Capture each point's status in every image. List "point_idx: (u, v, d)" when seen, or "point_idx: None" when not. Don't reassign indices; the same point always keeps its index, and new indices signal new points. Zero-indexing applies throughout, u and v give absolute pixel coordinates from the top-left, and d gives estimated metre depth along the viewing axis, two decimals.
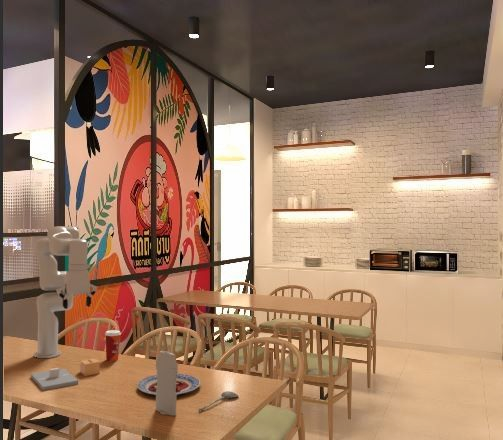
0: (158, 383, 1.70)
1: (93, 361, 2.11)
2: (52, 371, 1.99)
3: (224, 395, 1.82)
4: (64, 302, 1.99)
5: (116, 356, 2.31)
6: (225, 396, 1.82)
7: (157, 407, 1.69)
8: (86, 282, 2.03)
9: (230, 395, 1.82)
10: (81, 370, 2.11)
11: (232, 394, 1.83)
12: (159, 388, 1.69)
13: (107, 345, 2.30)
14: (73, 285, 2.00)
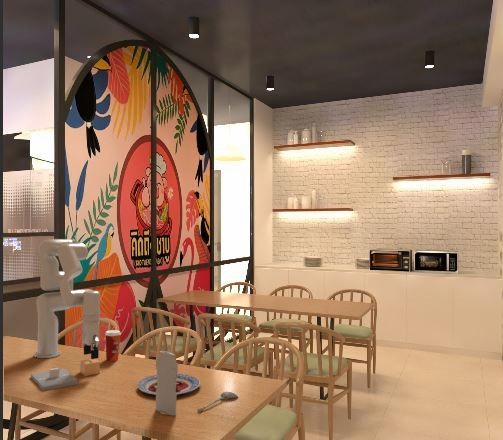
0: (158, 383, 1.70)
1: (93, 361, 2.11)
2: (52, 371, 1.99)
3: (223, 395, 1.82)
4: (97, 352, 2.08)
5: (116, 356, 2.31)
6: (224, 396, 1.81)
7: (157, 407, 1.69)
8: None
9: (229, 396, 1.82)
10: (81, 370, 2.11)
11: (231, 395, 1.82)
12: (159, 388, 1.69)
13: (107, 345, 2.30)
14: None
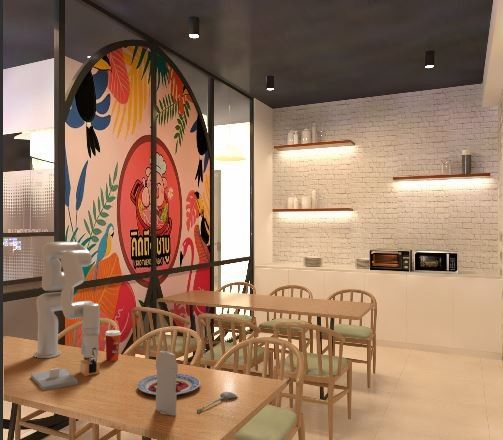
0: (158, 383, 1.70)
1: None
2: (52, 371, 1.99)
3: (223, 396, 1.81)
4: (95, 366, 2.09)
5: (116, 356, 2.31)
6: (224, 397, 1.81)
7: (157, 407, 1.69)
8: None
9: (229, 396, 1.81)
10: (81, 370, 2.11)
11: (231, 395, 1.82)
12: (159, 388, 1.69)
13: (107, 345, 2.30)
14: None
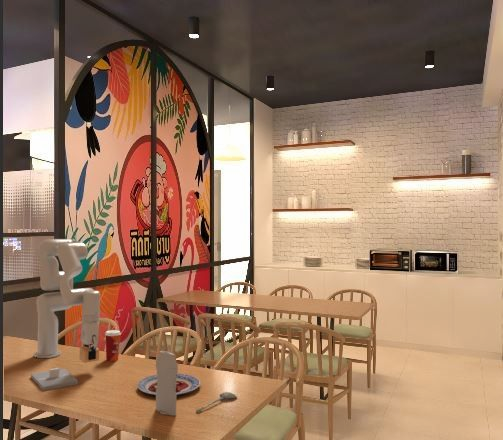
0: (158, 383, 1.70)
1: None
2: (52, 371, 1.99)
3: (222, 396, 1.81)
4: (94, 353, 2.09)
5: (116, 356, 2.31)
6: (223, 397, 1.81)
7: (157, 407, 1.69)
8: None
9: (229, 396, 1.81)
10: (80, 357, 2.11)
11: (231, 395, 1.82)
12: (159, 388, 1.69)
13: (107, 345, 2.30)
14: None
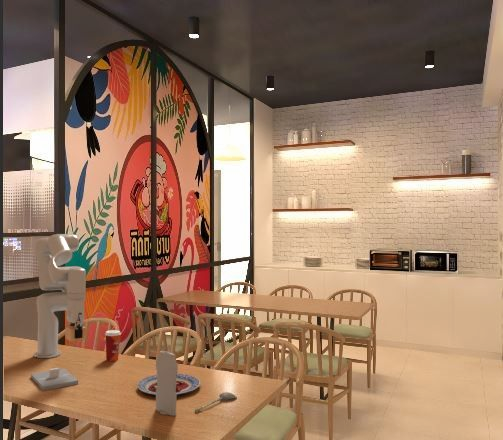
0: (158, 383, 1.70)
1: None
2: (52, 371, 1.99)
3: (222, 396, 1.81)
4: (81, 332, 2.04)
5: (116, 356, 2.31)
6: (223, 397, 1.80)
7: (157, 407, 1.69)
8: None
9: (228, 396, 1.81)
10: (67, 336, 2.06)
11: (230, 395, 1.82)
12: (159, 388, 1.69)
13: (107, 345, 2.30)
14: None
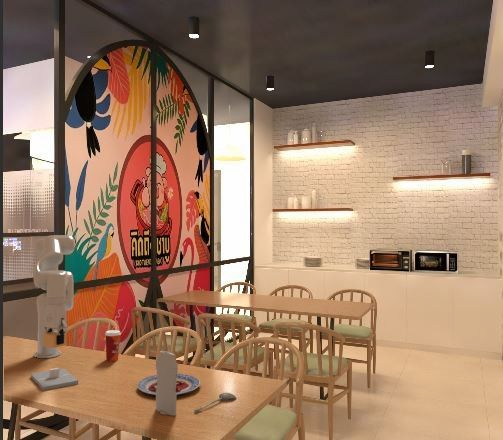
0: (158, 383, 1.70)
1: None
2: (52, 371, 1.99)
3: (221, 396, 1.81)
4: (63, 337, 1.99)
5: (116, 356, 2.31)
6: (222, 397, 1.80)
7: (157, 407, 1.69)
8: None
9: (228, 396, 1.81)
10: (46, 343, 1.98)
11: (230, 395, 1.81)
12: (159, 388, 1.69)
13: (107, 345, 2.30)
14: None
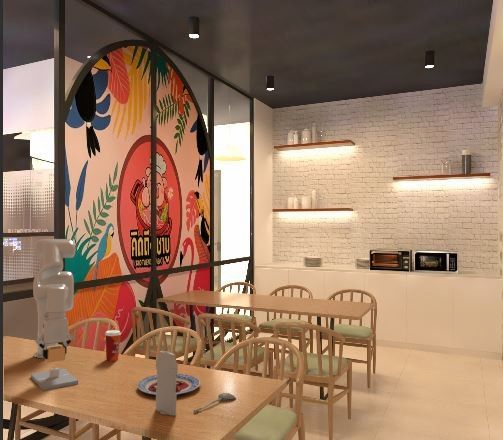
0: (158, 383, 1.70)
1: (57, 346, 2.02)
2: (52, 371, 1.99)
3: (221, 396, 1.81)
4: None
5: (116, 356, 2.31)
6: (222, 398, 1.80)
7: (157, 407, 1.69)
8: None
9: (227, 397, 1.80)
10: (53, 359, 1.97)
11: (229, 396, 1.81)
12: (159, 388, 1.69)
13: (107, 345, 2.30)
14: None
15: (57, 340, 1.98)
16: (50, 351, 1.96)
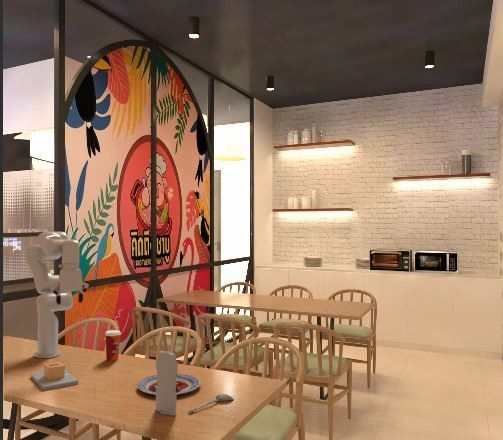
0: (158, 383, 1.70)
1: (56, 363, 2.02)
2: None
3: (218, 398, 1.79)
4: None
5: (116, 356, 2.31)
6: (219, 399, 1.79)
7: (157, 407, 1.69)
8: None
9: (224, 398, 1.79)
10: (52, 376, 1.97)
11: (226, 397, 1.80)
12: (159, 388, 1.69)
13: (107, 345, 2.30)
14: None
15: (72, 289, 2.16)
16: (50, 369, 1.96)
